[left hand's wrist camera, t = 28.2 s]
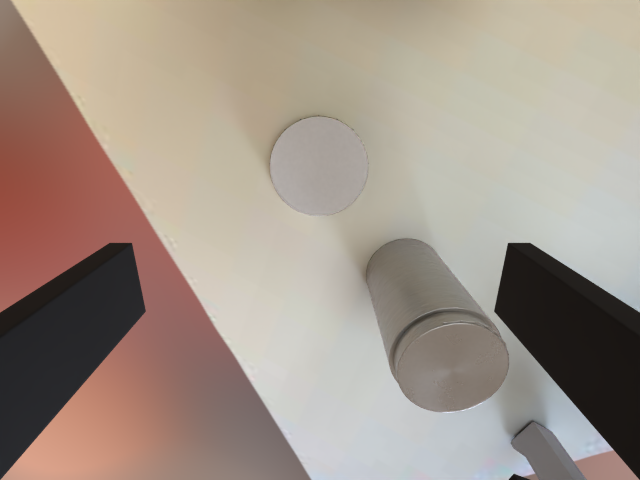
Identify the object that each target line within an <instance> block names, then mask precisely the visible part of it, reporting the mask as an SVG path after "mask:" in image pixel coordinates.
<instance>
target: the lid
mask: <svg viewBox="0 0 640 480" xmlns="http://www.w3.org/2000/svg"><path fill="white" fill-rule="evenodd" d="M270 174H271V179H272V182H273V185H274V187H275V189H276V191H277V193H278V194H279V196H280V197H281V198H282V200H283V201H284V202H286V203H287V204H288V205H289V206H290V207H292V208H293V209H295V210H297V211H299V212H301V213H304V214H307V215H313V216H325V215H331V214H334V213H337V212H340V211H341V210H343V209H345V208H346V207H348V206H349V205H350V204H352V203H353V202H354V201H355V200H356V198H357V197H358V196H359V195H360V193H361V191H362V190H363V187H364V185H365V183H366V180H367V175H368V158H367V153H366V150H365V147H364V144H363V143H362V141H361V140H360V138H359V137H358V135H357V134H356V133H355V132H354V130H353V129H351V128H350V127H348V126H347V125H345V124H344V123H342V122H340V121H338V119H333V118H330V117H323V116H319V115H318V116H315V117H309V118H305V119H300V121H298V122H296V123H294V124H293V125H291V126H290V127H288V128H287V129H285V130H284V132H283V133H282V134H281V135H280V137H279V138H278V140H277V141H276V143H275V145H274V148H273V150H272V154H271V158H270Z"/></svg>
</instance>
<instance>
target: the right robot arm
mask: <svg viewBox="0 0 640 480" xmlns="http://www.w3.org/2000/svg"><path fill="white" fill-rule="evenodd" d="M509 480H529V479H527V478H524V477H521V476H518V475H516V474H513V475H512V476H511V478H510V479H509Z"/></svg>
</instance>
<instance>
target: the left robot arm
mask: <svg viewBox="0 0 640 480" xmlns="http://www.w3.org/2000/svg"><path fill="white" fill-rule="evenodd" d="M145 311H146V310H145V305H144V301H143V296H142V291H141V286H140V281H139V276H138V271H137V266H136V261H135V256H134V251H133V246H132V243H109V244H108V245H106V246H104V247H103V248H101V249H100V250H98V251H97V252H95V253H93V254H92V255H90V256H89V257H87V258H86V259H84V260H82V261H81V262H79V263H78V264H76V265H75V266H73V267H71V268H70V269H68V270H67V271H65V272H63V273H62V274H60V275H59V276H57V277H56V278H54V279H53V280H51V281H49V282H48V283H46V284H45V285H43V286H41V287H40V288H38V289H37V290H35V291H34V292H32V293H30V294H29V295H27V296H26V297H24V298H23V299H21V300H19V301H18V302H16V303H15V304H13V305H12V306H10V307H8V308H7V309H5V310H4V311H2V312H1V313H0V479H1V478H2V477H3V476H4V475H5V474H6V473H7V471H8V470H9V469H10V468H11V467H12V466H13V464H14V463H15V462H16V461H17V460H18V459H19V458H20V456H21V455H22V454H23V453H24V452H25V451H26V449H27V448H28V447H29V446H30V445H31V444H32V442H33V441H34V440H35V439H36V438H37V437H38V435H39V434H40V433H41V432H42V431H43V430H44V429H45V427H46V426H47V425H48V424H49V423H50V422H51V420H52V419H53V418H54V417H55V416H56V415H57V414H58V412H59V411H60V410H61V409H62V408H63V407H64V405H65V404H66V403H67V402H68V401H69V400H70V398H71V397H72V396H73V395H74V394H75V393H76V391H77V390H78V389H79V388H80V387H81V386H82V385H83V383H84V382H85V381H86V380H87V379H88V378H89V376H90V375H91V374H92V373H93V372H94V371H95V370H96V368H97V367H98V366H99V365H100V364H101V363H102V361H103V360H104V359H105V358H106V357H107V356H108V354H109V353H110V352H111V351H112V350H113V349H114V347H115V346H116V345H117V344H118V343H119V342H120V340H121V339H122V338H123V337H124V336H125V335H126V334H127V332H128V331H129V330H130V329H131V328H132V327H133V325H134V324H135V323H136V322H137V321H138V320H139V319H140V317H141V316H142V315H143V314H144V313H145ZM494 312H495V313H496V314H497V315H498V316H499V317H500V319H501V320H502V321H503V322H504V323H505V324H506V325H507V327H508V328H509V329H510V330H511V331H512V332H513V334H514V335H515V336H516V337H517V338H518V339H519V341H520V342H521V343H522V344H523V345H524V346H525V348H526V349H527V350H528V351H529V352H530V353H531V354H532V356H533V357H534V358H535V359H536V360H537V361H538V363H539V364H540V365H541V366H542V367H543V368H544V370H545V371H546V372H547V373H548V374H549V375H550V376H551V378H552V379H553V380H554V381H555V382H556V383H557V385H558V386H559V387H560V388H561V389H562V390H563V392H564V393H565V394H566V395H567V396H568V397H569V398H570V400H571V401H572V402H573V403H574V404H575V405H576V407H577V408H578V409H579V410H580V411H581V412H582V414H583V415H584V416H585V417H586V418H587V419H588V420H589V422H590V423H591V424H592V425H593V426H594V427H595V429H596V430H597V431H598V432H599V433H600V434H601V436H602V437H603V438H604V439H605V440H606V441H607V442H608V444H609V445H610V446H611V447H612V448H613V449H614V451H615V452H616V453H617V454H618V455H619V456H620V458H621V459H622V460H623V461H624V462H625V463H626V464H627V466H628V467H629V468H630V469H631V470H632V471H633V473H634V474H635V475H636V476H637V477H638V478H639V480H640V313H639V312H638V311H636V310H635V309H633V308H632V307H630V306H628V305H627V304H625V303H624V302H622V301H621V300H619V299H617V298H616V297H614V296H613V295H611V294H610V293H608V292H606V291H605V290H603V289H602V288H600V287H599V286H597V285H595V284H594V283H592V282H591V281H589V280H588V279H586V278H584V277H583V276H581V275H580V274H578V273H577V272H575V271H573V270H572V269H570V268H569V267H567V266H566V265H564V264H562V263H561V262H559V261H558V260H556V259H555V258H553V257H551V256H550V255H548V254H547V253H545V252H543V251H542V250H540V249H539V248H537V247H536V246H534V245H532V244H531V243H508V246H507V251H506V256H505V261H504V266H503V271H502V276H501V281H500V286H499V291H498V296H497V300H496V305H495V310H494Z"/></svg>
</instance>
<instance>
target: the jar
mask: <svg viewBox="0 0 640 480" xmlns="http://www.w3.org/2000/svg"><path fill="white" fill-rule="evenodd" d="M366 280H367V285H368V288H369V292H370V296H371V299H372V303H373V307H374V310H375V314H376V318H377V322H378V325H379V329H380V333H381V336H382V340H383V344H384V347H385V351H386V355H387V358H388V362H389V366H390V369H391V372H392V375H393V376H394V378H395V380H396V381H397V382H398V384H399V386H400V388H401V390H402V392H403V393H404V395H405V396H406V397H407V398H408V399H409V400H410V401H411V402H413V403H414V404H416V405H418V406H419V407H421V408H424V409H427V410H430V411H435V412H457V411H462V410H466V409H469V408H472V407H474V406H476V405H478V404H480V403H482V402H484V401H485V400H487V399H488V398H489V397H491V396H492V395H493V394H494V393H495V392H496V391H497V390H498V389H499V387H500V386H501V385H502V383H503V381H504V379H505V377H506V375H507V372H508V367H509V357H508V355H509V354H508V351H507V348H506V345H505V342H504V341H503V339H502V338H501V335H500V333H499V331H498V329H497V328H496V326H495V325H494V324H493V322H492V321H491V320H490V319H489V317H488V316H487V315H486V314H485V312H484V311H483V310H482V309H481V307H480V306H479V305H478V304H477V303H476V301H475V300H474V299H473V298H472V296H471V295H470V294H469V293H468V291H467V290H466V289H465V288H464V286H463V285H462V284H461V283H460V282H459V280H458V279H457V278H456V277H455V275H454V274H453V273H452V272H451V270H450V269H449V268H448V267H447V266H446V264H445V263H444V262H443V261H442V259H441V258H440V257H439V256H438V254H437V253H436V252H435V251H434V250H433V249H432V248H431V247H430V246H429V245H427V244H426V243H424V242H422V241H418V240H414V239H399V240H395V241H392V242H390V243H387V244H386V245H384V246H382V247H381V248H380V249H379V250H378V251H377V252H376V253H375V254H374V255H373V256H372V258H371V260H370V261H369V264H368V267H367V271H366Z"/></svg>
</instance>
